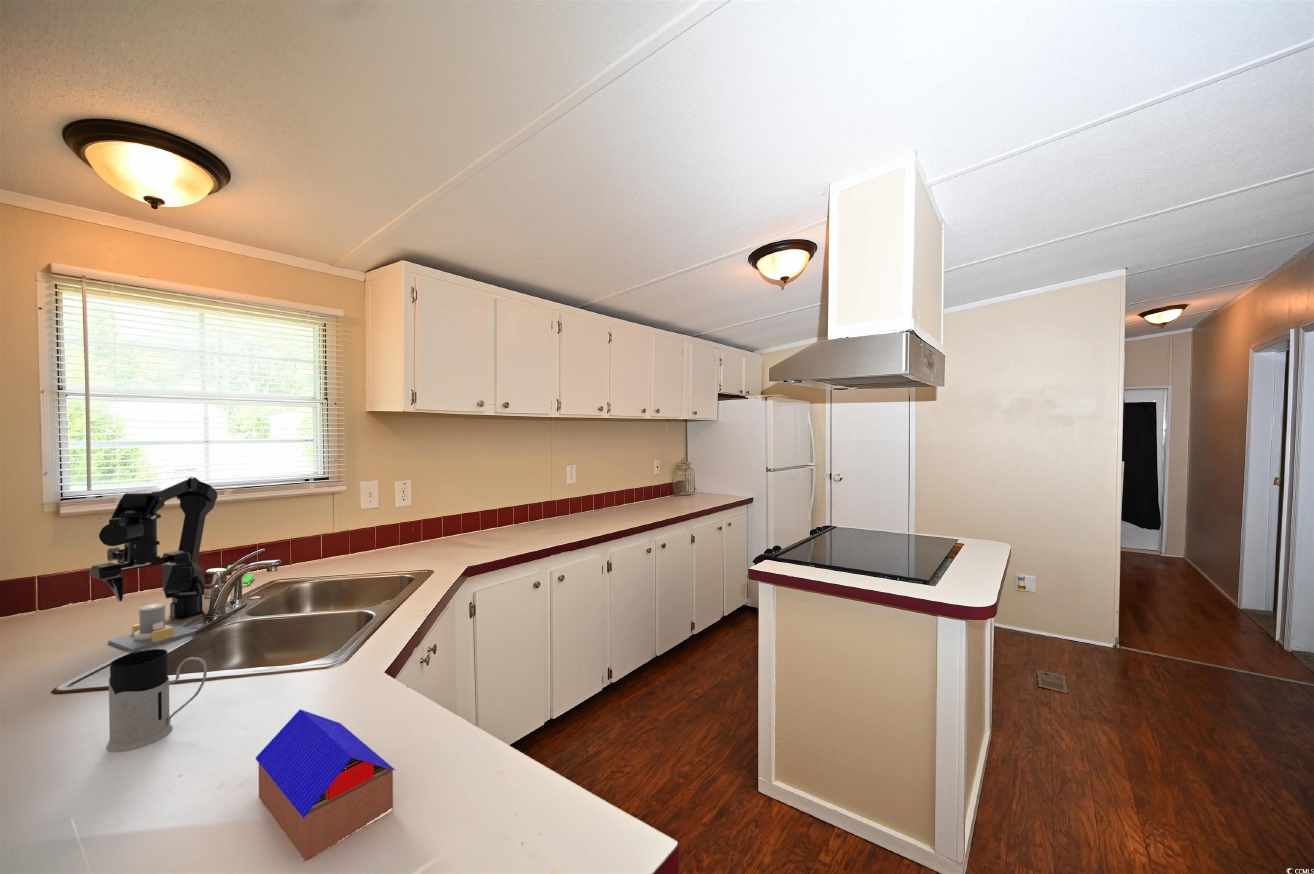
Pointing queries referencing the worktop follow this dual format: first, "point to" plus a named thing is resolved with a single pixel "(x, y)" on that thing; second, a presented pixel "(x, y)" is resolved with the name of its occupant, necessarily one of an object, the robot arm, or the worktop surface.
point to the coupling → (151, 618)
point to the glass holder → (141, 699)
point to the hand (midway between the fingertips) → (143, 595)
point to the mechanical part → (247, 578)
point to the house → (322, 782)
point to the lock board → (148, 643)
